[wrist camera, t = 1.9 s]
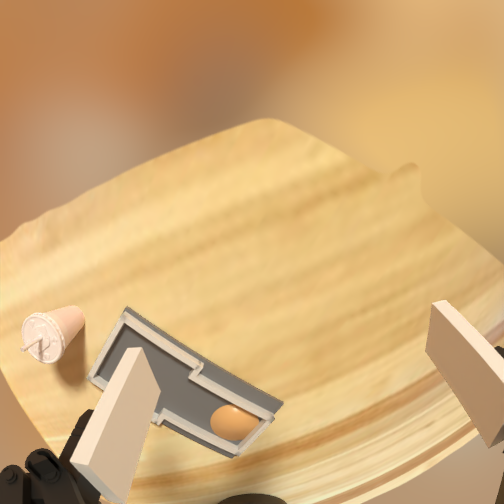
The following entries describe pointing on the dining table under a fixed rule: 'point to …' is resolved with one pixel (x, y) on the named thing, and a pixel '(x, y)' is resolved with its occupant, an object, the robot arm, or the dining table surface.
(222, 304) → the dining table surface
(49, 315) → the smoothie
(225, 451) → the keyhole plate
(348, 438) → the dining table surface
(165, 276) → the dining table surface
